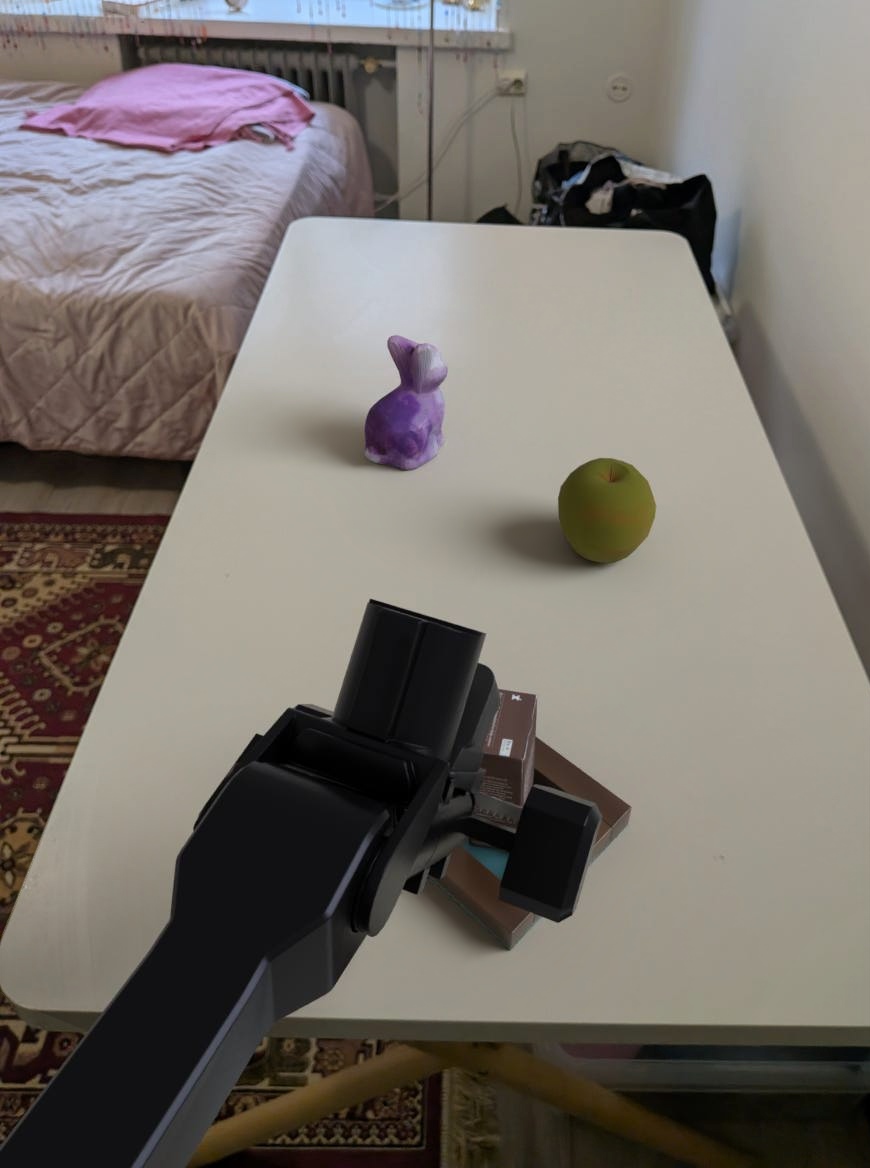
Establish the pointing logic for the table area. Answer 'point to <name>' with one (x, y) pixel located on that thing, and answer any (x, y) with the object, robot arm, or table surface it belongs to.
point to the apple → (606, 509)
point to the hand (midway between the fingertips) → (463, 791)
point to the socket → (482, 868)
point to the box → (509, 754)
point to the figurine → (408, 408)
